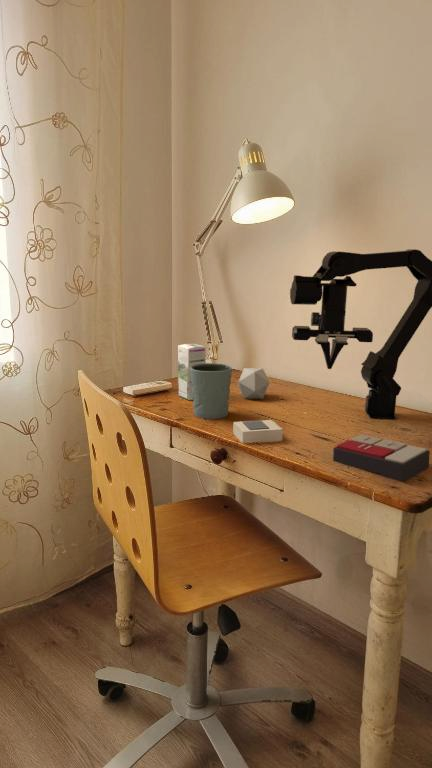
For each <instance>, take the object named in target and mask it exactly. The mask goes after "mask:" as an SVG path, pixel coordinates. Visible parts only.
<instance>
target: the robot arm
mask: <svg viewBox="0 0 432 768" xmlns="http://www.w3.org/2000/svg"><path fill="white" fill-rule="evenodd" d="M403 267H405V268H407V269H408V270H409V272H410V273H411V275H412V277H414V278H415V279H416V280H417V283H416V285H415V287H414V293H413V298H412V301H411V302H410V304H409V305H408V307H407V308H406V310H405V311H404V313H403V315H402V316H401V318H400V319H399V321H398V323H397V324H396V326H395V327H394V329H393V331H392V332H391V333H390V335H389V336H388V338H387V340H386V341H385V343H384V345H383V346H382V347H381V348H380V349H379V351H377V352H373V351H372V350H371V351H369V352H368V354H367V356H366V358H365V360H364V361H363V362H362V363H361V365H362V367H361V370H360V374H361V377H362V379H363V381H364V382H366V385H367V388H368V395H366V396H365V404H364V405H365V406H364V411H365V413H366V415H368V417H369V418H371V419H392V420H393V419H397V416H396V414H395V413H396V405H397V404H396V403H397V396H399V395H400V392H401V390H402V387H401V385H400V384H399V383H398V382H397V381H396V380H395V378H394V377H395V374H396V372H397V371H398V370H397V369H398V363H399V358H400V357H401V355H402V354H403V352H404V350H405V349H406V348H407V346H408V344H409V343H410V341H411V339H412V338H413V337H414V335H415V334H416V332H417V330H418V328H419V327H420V326H421V324H422V323H423V321H424V320H425V317H426V316H427V315H428V313H429V311H430V310H431V308H432V260H431V259H430V258H428V257H427V256H426V255H425V254H424V253H423V252H422V251H421V250H420V249H416V248H415V249H414V248H413V249H410V248H409V249H406V250H398V251H397V250H396V251H387V252H386V251H384V252H374V253H373V252H372V253H358V252H357V253H356V252H349V251H348V252H347V251H329V252H327V253H326V255H324V256H323V258H322V261H321V265H320V267H319V268H318V269H317V271H315V273H314V274H313V276H307V275H306V276H303V275H299V274H298V275H297V274H296V275H293V281H292V283H291V288H290V289H289V296H290V297H289V299H290V303H291V304H292V305H301V306H302V305H303V306H304V305H307V306H308V305H309V306H310V305H313V306H316V305H317V304H318V302H320V301H321V310H320V311H321V312H317V311H316V312H315V311H314V312H311V317H310V325H311V327H317V328H318V329H311V327H310V325H309V326H308V325H294V326H293V327H292V330H291V337H292V339H293V340H294V341H308V340H309V339H310V338H314V341H315V343H316V344H317V345H319V346H320V347H321V349H322V353H323V357H324V360H325V364H326V368H327V369H328V370H332V368H333V366H334V364H335V362H336V360H337V358H338V356H339V354H340V352H341V351H342V349H343V348H344V346H348V345H349V342H348V341H347V340H348V339H356V340H357V341H358V342H359V343H373V340H374V339H373V338H374V333H373V331H372V330H371V329H369V328H368V327H352V329H351V330H345V325H346V324H345V321H346V310H347V298H348V297H347V295H348V287H357V284H358V283H356V282H355V281H354V279H352V277H351V275H353V274H356V273H359V272H363V271H367V270H378V269H391V268H403ZM349 275H350V276H349ZM337 277H340V278H337ZM341 277H344V278H341ZM329 339H332V340H331V342H330V341H329Z"/></svg>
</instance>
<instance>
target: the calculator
mask: <svg viewBox="0 0 432 768" xmlns="http://www.w3.org/2000/svg"><path fill="white" fill-rule="evenodd" d="M332 452H333V453H332V454H333V455H332V458H333V459H332V461H333V462H335V463H338V464H342V465H346V466H349V467H352V468H356V469H359V470H363V471H366V472H370V473H374V474H379V475H381V476H382V477H384V478H388V479H391V480H395V481H398V482H402V483H405V482H407V481H408V480H410V479H412V478H414V477H415V476H418V475H419V474H420V473H422V472H424V471H426V470H427V469H429V467H430V456H431V455H430V454H431V453H430V450H428V449H427V448H424V447H419V446H414V445H410V444H409V445H407V443H405V442H399V441H394V440H390V439H383V438H379V437H376V436H371V435H367V434H360V435H357V436H355V437H353V438H351V439H350V440H346V441H344V442H341V443H338V444H337V445H336V446H335V447H333V451H332Z"/></svg>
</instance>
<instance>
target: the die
mask: <svg viewBox="0 0 432 768" xmlns="http://www.w3.org/2000/svg"><path fill="white" fill-rule="evenodd" d="M241 372H242V373H241V375H240V377H239V379H238V383H237V387H238V388H239V391H240V393H241V395H242V397H243V399H245V400H247V399H249V400H251V399H252V400H262V399H264V396H265V395H266V392H267V390H268V388H269V385H270V383H271V381H269V378H268V376H267V374H266V372H265V369H264V368H254V367H249V368H248V367H244V368H243V369H242V371H241Z"/></svg>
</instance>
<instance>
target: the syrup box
mask: <svg viewBox="0 0 432 768" xmlns="http://www.w3.org/2000/svg"><path fill="white" fill-rule="evenodd" d="M202 363H206V346H204V345H200V344H196V343H183V344H178V345H177V396H178V397H181V398H183V399H185V400H187V401H194V399H193V393H192V392H193V391H192V389H193V386H192V381H191V370H190V368H191V366H193V365H196V364H202Z"/></svg>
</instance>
